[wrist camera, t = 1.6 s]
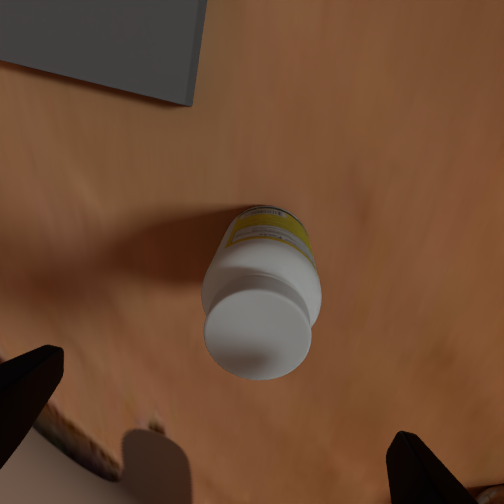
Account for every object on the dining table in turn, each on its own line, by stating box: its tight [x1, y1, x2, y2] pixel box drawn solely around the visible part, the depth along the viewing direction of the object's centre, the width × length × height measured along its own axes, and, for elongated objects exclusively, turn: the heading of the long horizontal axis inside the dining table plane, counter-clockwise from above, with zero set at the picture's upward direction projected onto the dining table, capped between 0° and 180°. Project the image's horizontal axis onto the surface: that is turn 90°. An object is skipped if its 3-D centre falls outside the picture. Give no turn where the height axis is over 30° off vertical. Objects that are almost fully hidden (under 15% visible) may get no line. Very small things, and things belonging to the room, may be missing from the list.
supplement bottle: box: [201, 206, 321, 380], centre depth 16 cm, size 5×5×10 cm
